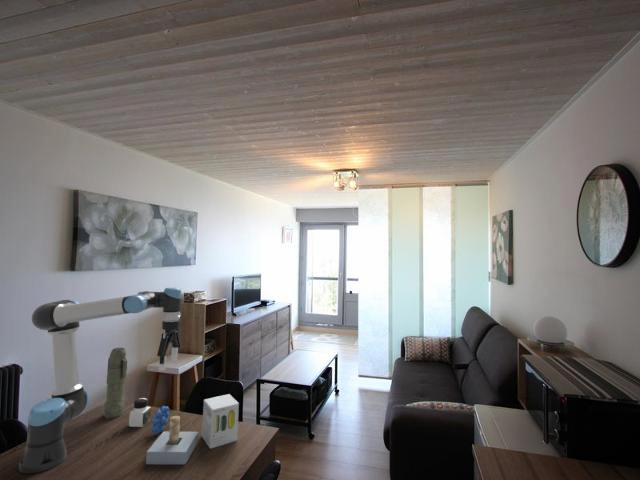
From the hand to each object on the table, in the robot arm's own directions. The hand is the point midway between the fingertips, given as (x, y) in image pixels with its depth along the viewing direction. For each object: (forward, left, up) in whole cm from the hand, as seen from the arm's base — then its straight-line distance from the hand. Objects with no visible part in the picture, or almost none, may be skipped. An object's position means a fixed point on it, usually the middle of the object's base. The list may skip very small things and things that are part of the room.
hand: (168, 365), depth 154 cm
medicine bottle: (-19, +16, -35) cm, 43 cm away
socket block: (+8, -9, -35) cm, 37 cm away
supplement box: (+25, +3, -35) cm, 43 cm away
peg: (+8, -9, -34) cm, 36 cm away
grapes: (-6, +8, -35) cm, 36 cm away
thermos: (-37, +25, -35) cm, 57 cm away
